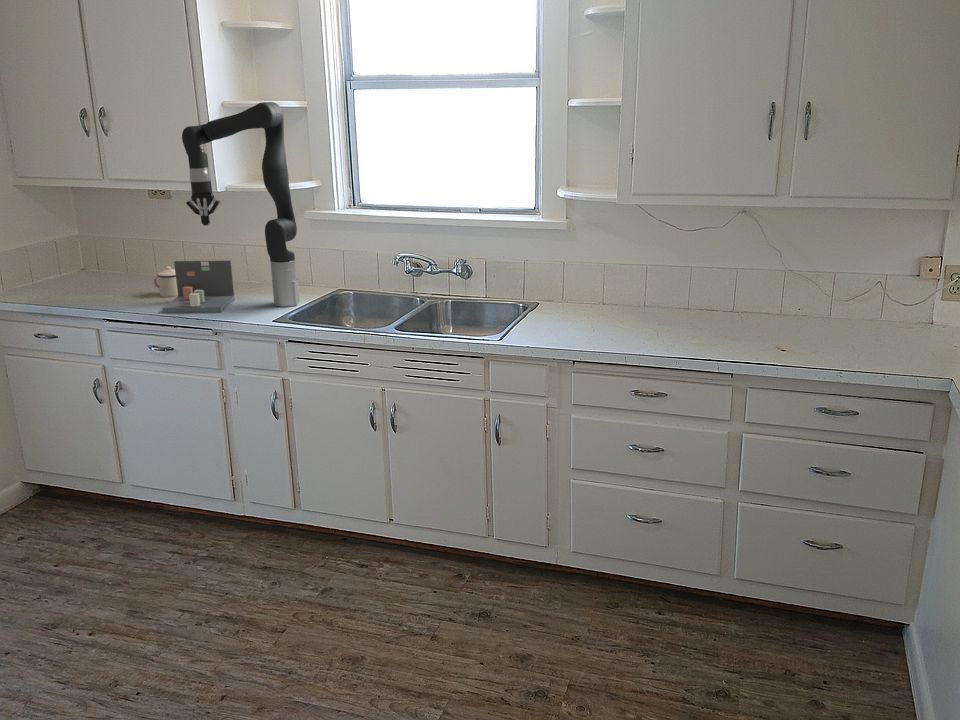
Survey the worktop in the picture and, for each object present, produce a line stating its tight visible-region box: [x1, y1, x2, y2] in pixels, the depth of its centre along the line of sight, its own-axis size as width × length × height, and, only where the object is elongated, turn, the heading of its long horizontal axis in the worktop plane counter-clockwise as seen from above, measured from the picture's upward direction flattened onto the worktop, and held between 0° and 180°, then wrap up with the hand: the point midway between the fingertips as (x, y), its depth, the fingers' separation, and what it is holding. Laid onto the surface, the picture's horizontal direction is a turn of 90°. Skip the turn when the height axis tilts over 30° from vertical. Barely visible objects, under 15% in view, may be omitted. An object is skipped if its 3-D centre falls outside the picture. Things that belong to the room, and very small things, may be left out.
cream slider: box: [189, 293, 200, 306], centre depth 328 cm, size 3×2×4 cm
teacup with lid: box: [153, 266, 178, 298], centre depth 354 cm, size 12×9×12 cm
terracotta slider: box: [182, 287, 193, 300], centre depth 338 cm, size 3×2×4 cm
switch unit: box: [162, 259, 236, 314], centre depth 334 cm, size 22×19×16 cm
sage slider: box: [194, 290, 205, 303], centre depth 333 cm, size 3×2×4 cm
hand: (205, 225), depth 338 cm, fingers closed
